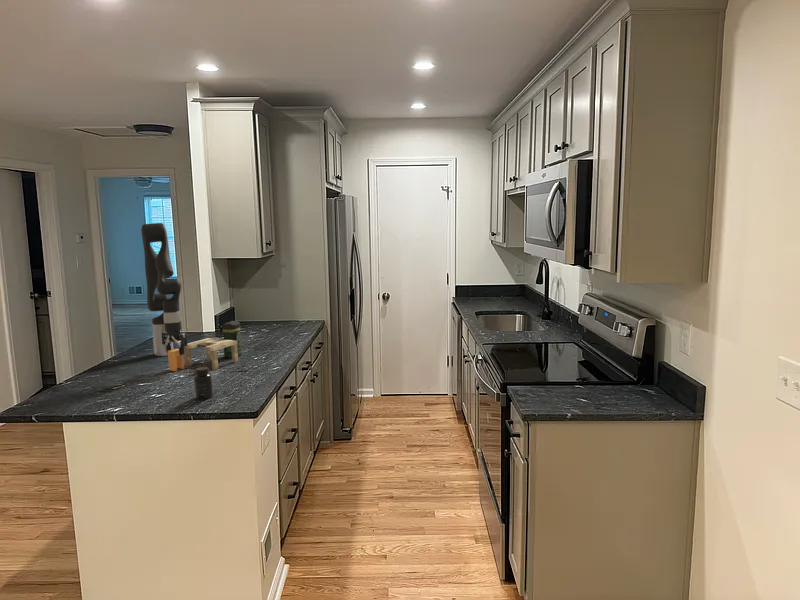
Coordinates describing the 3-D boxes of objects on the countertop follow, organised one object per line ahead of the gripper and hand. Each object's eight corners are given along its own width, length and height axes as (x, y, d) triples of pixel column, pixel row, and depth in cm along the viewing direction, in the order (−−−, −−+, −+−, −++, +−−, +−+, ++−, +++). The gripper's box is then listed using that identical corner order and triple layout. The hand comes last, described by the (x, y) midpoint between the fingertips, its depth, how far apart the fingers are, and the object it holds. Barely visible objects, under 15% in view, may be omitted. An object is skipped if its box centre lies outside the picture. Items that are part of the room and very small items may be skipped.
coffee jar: (236, 358, 278) (233, 323, 275) (222, 358, 279) (219, 323, 276) (244, 353, 287) (242, 319, 284) (231, 353, 289) (228, 319, 286)
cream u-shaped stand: (185, 365, 266) (183, 344, 264) (209, 358, 280) (207, 338, 278) (215, 369, 257) (213, 347, 255) (238, 361, 271) (237, 340, 270)
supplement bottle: (198, 395, 219) (195, 366, 217) (215, 394, 220) (213, 365, 218) (193, 400, 212) (190, 371, 211) (210, 399, 213) (208, 370, 211)
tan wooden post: (169, 370, 258) (167, 351, 257) (178, 367, 263) (177, 348, 262) (175, 371, 257) (173, 351, 255) (184, 368, 262) (182, 349, 260)
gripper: (155, 321, 256) (158, 354, 258) (176, 323, 250) (179, 356, 252) (168, 319, 263) (171, 351, 265) (189, 320, 257) (192, 353, 259)
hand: (175, 354), depth 259 cm, fingers open, 8 cm apart
